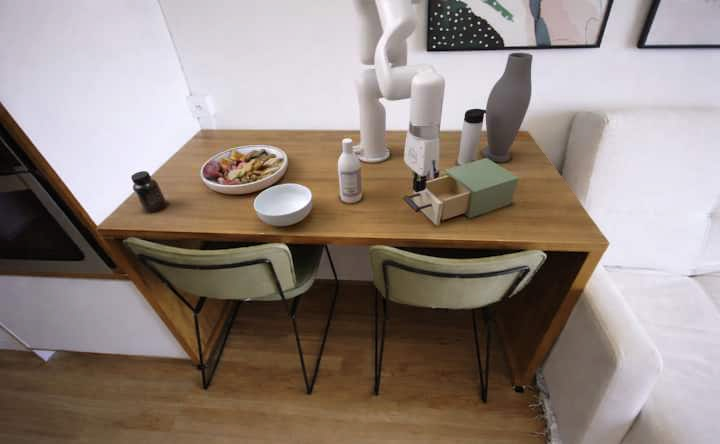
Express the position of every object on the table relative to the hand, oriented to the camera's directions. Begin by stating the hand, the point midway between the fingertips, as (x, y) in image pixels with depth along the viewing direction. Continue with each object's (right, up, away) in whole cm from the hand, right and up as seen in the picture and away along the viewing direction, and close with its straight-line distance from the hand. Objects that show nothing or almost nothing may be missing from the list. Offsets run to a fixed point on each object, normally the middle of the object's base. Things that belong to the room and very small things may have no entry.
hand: (419, 189), depth 95 cm
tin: (+7, +5, +22) cm, 24 cm away
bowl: (-58, +8, +30) cm, 65 cm away
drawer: (+7, -5, +7) cm, 11 cm away
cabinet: (+20, -2, +12) cm, 23 cm away
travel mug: (+22, +12, +29) cm, 39 cm away
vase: (+35, +16, +34) cm, 51 cm away
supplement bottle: (-83, -4, +16) cm, 85 cm away
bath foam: (-19, -1, +16) cm, 25 cm away
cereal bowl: (-39, -8, +9) cm, 41 cm away
